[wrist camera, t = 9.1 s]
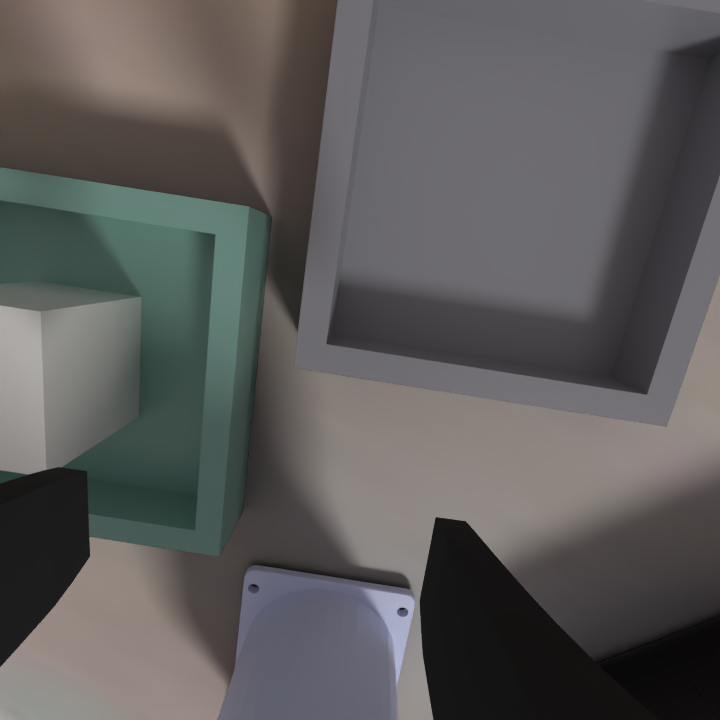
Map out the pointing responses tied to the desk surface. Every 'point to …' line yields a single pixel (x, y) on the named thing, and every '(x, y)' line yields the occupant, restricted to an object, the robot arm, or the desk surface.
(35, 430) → the light gray block
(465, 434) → the desk surface
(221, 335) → the bin
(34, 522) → the robot arm
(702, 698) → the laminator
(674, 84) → the bin
